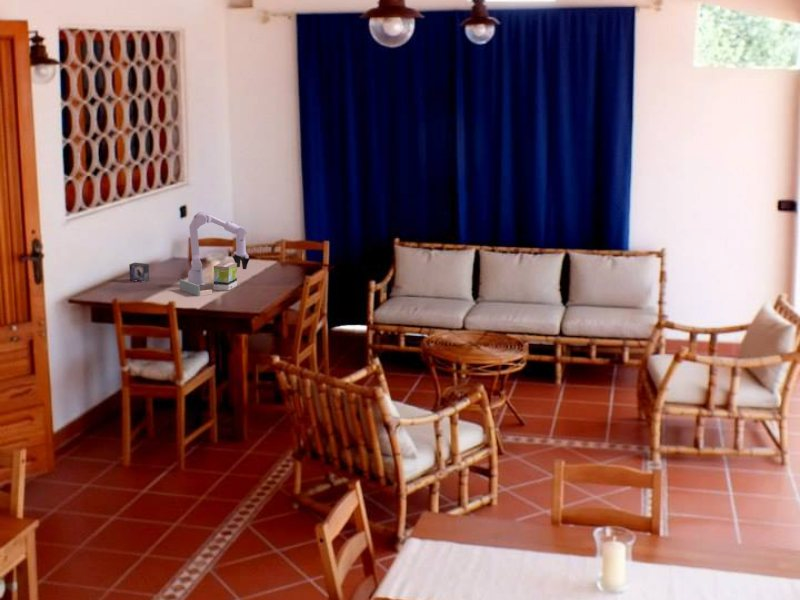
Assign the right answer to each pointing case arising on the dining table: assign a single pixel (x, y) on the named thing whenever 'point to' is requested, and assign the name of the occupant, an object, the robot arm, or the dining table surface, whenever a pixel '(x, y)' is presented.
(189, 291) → the display bay
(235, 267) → the tea box
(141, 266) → the small box
